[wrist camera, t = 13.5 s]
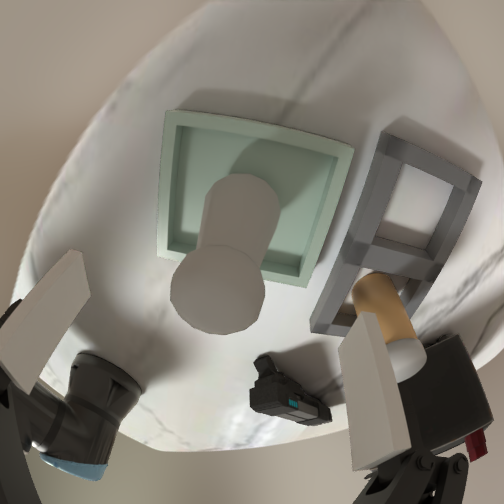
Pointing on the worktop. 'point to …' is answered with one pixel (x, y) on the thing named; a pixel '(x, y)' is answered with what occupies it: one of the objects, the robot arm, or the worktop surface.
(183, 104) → the worktop surface
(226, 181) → the salt shaker
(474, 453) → the voltmeter
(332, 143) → the tray
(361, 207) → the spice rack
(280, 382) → the gun
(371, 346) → the robot arm
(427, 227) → the worktop surface
